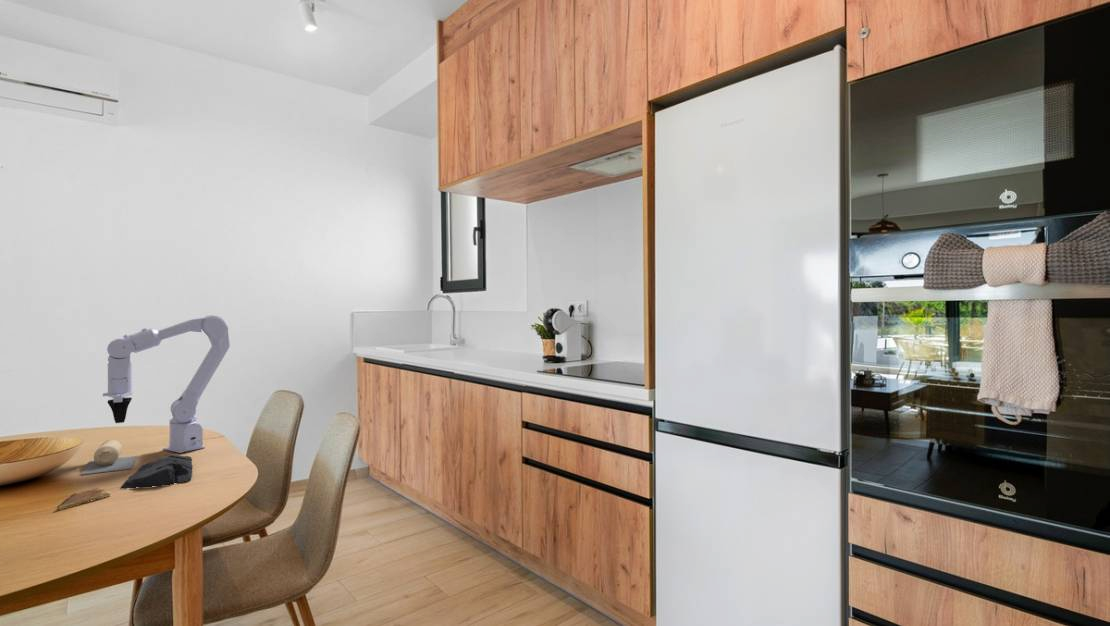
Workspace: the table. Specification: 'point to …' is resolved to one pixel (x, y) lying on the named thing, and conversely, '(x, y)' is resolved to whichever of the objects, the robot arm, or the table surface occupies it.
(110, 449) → the candle
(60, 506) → the shard
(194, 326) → the robot arm
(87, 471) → the slate mat
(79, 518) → the table surface
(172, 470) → the dark slate chunk
